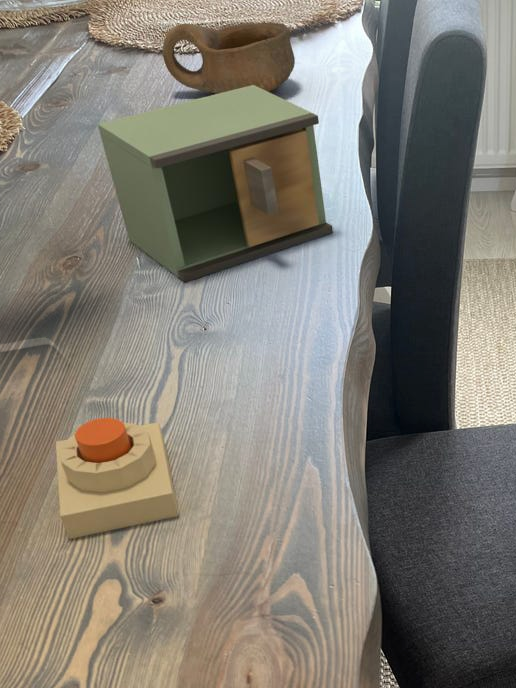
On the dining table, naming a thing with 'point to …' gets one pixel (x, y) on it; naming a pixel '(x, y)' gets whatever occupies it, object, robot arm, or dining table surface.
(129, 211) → the cupboard
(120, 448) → the light button
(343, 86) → the dining table surface
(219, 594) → the dining table surface
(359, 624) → the dining table surface
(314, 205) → the cupboard door
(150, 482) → the switch block
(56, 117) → the dining table surface
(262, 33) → the brown clay cup
